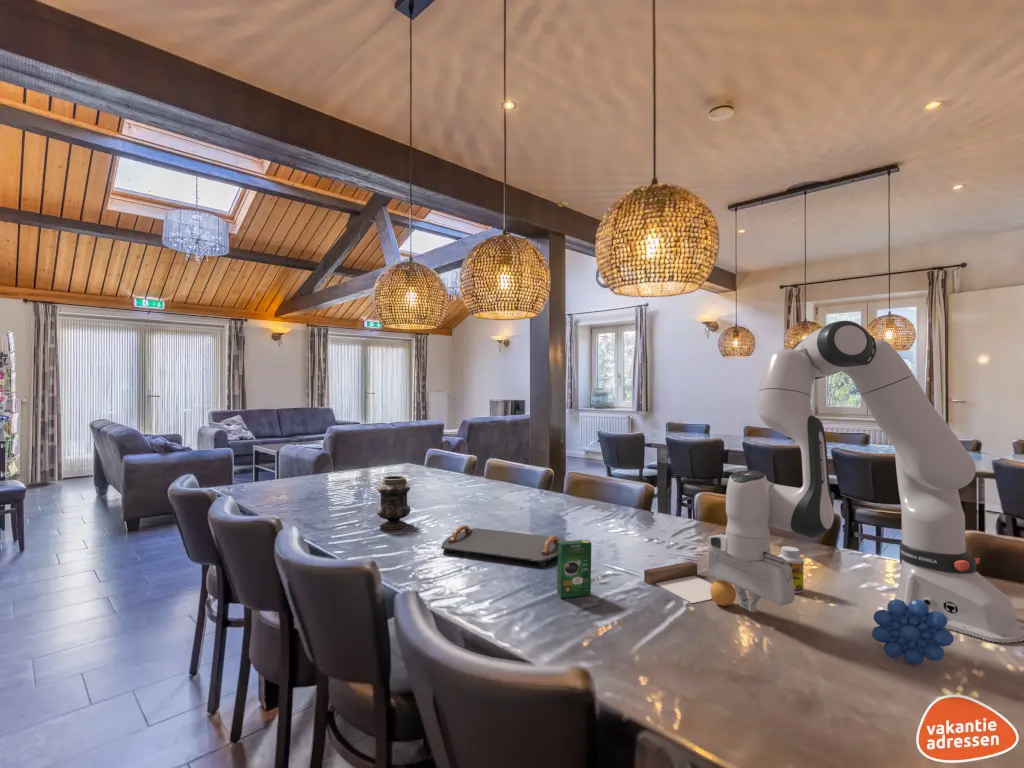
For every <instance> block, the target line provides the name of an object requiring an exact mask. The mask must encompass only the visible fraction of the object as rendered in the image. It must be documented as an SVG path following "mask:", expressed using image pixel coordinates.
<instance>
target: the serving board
mask: <svg viewBox="0 0 1024 768" xmlns="http://www.w3.org/2000/svg"><path fill="white" fill-rule="evenodd" d="M558 541H566V540H565V539H564V538H562V537H558V536H557V535H551V536H547V535H539V534H529V533H522V532H513V531H505V530H504V531H503V530H496V529H495V530H494V529H486V528H476V527H475V528H470V527H469V526H468V525H461V526H458V527H457V528H455V530H454V531H453V532H452V535H451V536H449V537H447V538H445V540H443V542H442V545H440V548H441V549H442V550H443V554H450V553H451V551H455V552H464V553H472V554H477V555H485V556H493V557H501V558H507V559H515V560H521V561H522V560H523V561H531V562H537V566H538V567H540V568H543V567H545V566H546V562H548V561H550V560H552V559H554V558H556V557H557V558H558Z"/></svg>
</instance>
